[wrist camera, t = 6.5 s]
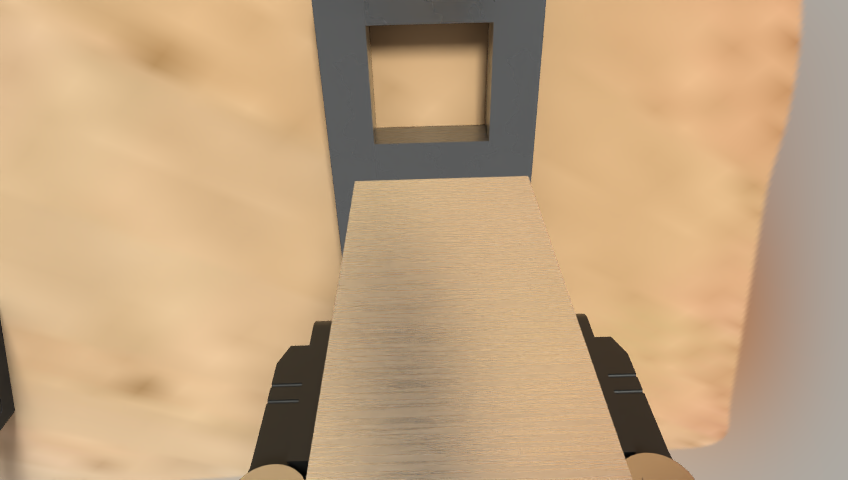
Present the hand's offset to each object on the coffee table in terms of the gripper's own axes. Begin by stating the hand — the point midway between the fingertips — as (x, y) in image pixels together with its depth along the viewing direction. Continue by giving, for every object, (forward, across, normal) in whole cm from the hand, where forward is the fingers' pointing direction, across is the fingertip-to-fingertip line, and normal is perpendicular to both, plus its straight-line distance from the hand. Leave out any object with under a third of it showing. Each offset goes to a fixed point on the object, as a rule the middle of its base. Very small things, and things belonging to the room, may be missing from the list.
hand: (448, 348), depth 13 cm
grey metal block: (+4, 0, 0) cm, 4 cm away
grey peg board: (+19, 0, +8) cm, 21 cm away
